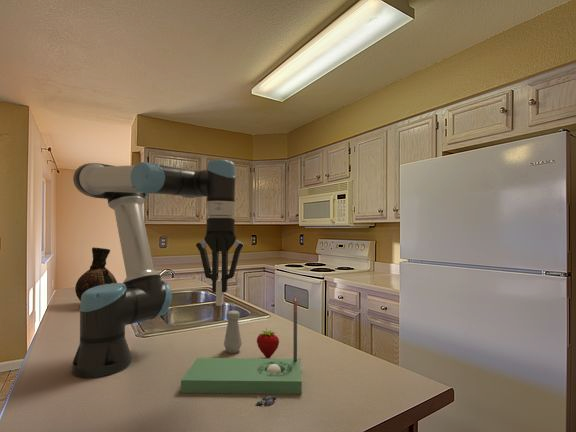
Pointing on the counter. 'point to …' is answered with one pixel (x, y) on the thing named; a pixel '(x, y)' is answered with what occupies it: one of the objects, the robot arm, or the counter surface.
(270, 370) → the white ball
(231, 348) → the salt shaker
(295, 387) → the board
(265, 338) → the strawberry
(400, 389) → the counter surface
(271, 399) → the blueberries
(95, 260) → the ceramic vessel
